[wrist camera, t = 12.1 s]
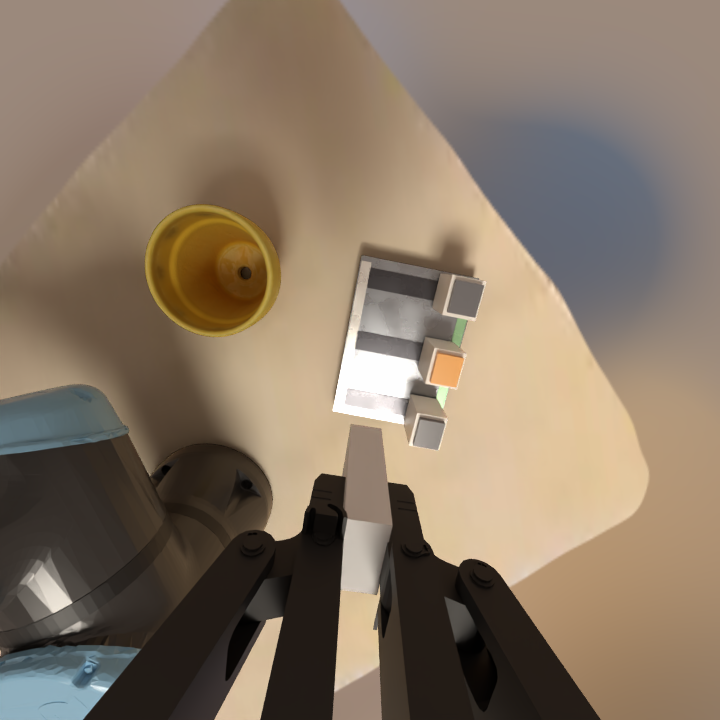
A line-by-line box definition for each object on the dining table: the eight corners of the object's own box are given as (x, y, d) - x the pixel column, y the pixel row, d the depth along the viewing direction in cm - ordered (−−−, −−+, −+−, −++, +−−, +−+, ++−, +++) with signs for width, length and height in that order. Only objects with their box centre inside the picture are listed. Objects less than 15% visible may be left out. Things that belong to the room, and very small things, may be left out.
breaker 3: (403, 422, 39) (409, 448, 33) (410, 394, 38) (418, 415, 32) (429, 427, 39) (440, 454, 33) (437, 399, 38) (449, 421, 32)
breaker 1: (431, 308, 35) (443, 315, 30) (440, 273, 34) (454, 274, 29) (460, 313, 35) (477, 322, 30) (469, 279, 34) (489, 281, 29)
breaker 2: (417, 368, 37) (426, 385, 32) (425, 336, 36) (435, 349, 31) (444, 373, 37) (458, 391, 32) (453, 342, 36) (468, 355, 31)
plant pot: (302, 315, 38) (281, 332, 29) (210, 324, 38) (159, 343, 29) (288, 215, 35) (260, 196, 26) (190, 225, 36) (126, 210, 26)
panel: (334, 404, 41) (332, 411, 39) (361, 255, 36) (361, 255, 34) (433, 422, 41) (437, 430, 39) (473, 277, 37) (479, 278, 35)
